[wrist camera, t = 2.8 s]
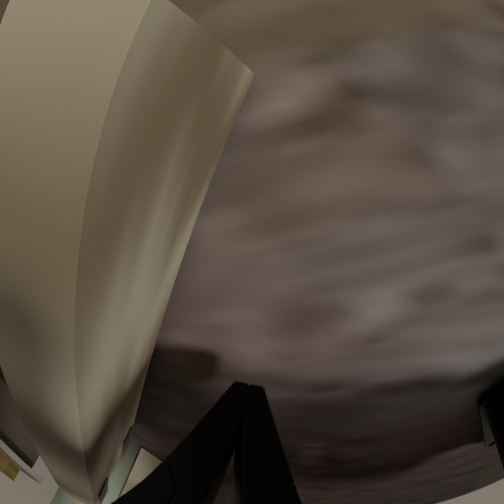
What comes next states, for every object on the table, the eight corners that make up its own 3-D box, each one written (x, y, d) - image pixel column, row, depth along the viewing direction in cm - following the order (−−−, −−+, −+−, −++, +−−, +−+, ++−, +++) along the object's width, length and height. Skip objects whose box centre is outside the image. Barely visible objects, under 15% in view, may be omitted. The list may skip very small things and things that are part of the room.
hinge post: (152, 447, 14) (102, 571, 6) (124, 450, 15) (76, 556, 7) (109, 414, 13) (43, 543, 6) (85, 420, 15) (26, 528, 7)
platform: (40, 446, 22) (16, 486, 16) (-58, 309, 15) (-102, 350, 9) (121, 477, 20) (97, 532, 14) (-6, 312, 13) (-74, 379, 7)
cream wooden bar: (132, 437, 13) (98, 511, 9) (99, 419, 13) (60, 490, 9) (259, 76, 6) (168, -8, 1) (179, 50, 6) (7, -6, 1)
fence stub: (198, 483, 16) (181, 544, 11) (186, 484, 16) (168, 542, 12) (141, 447, 15) (113, 514, 10) (131, 448, 15) (102, 511, 10)
